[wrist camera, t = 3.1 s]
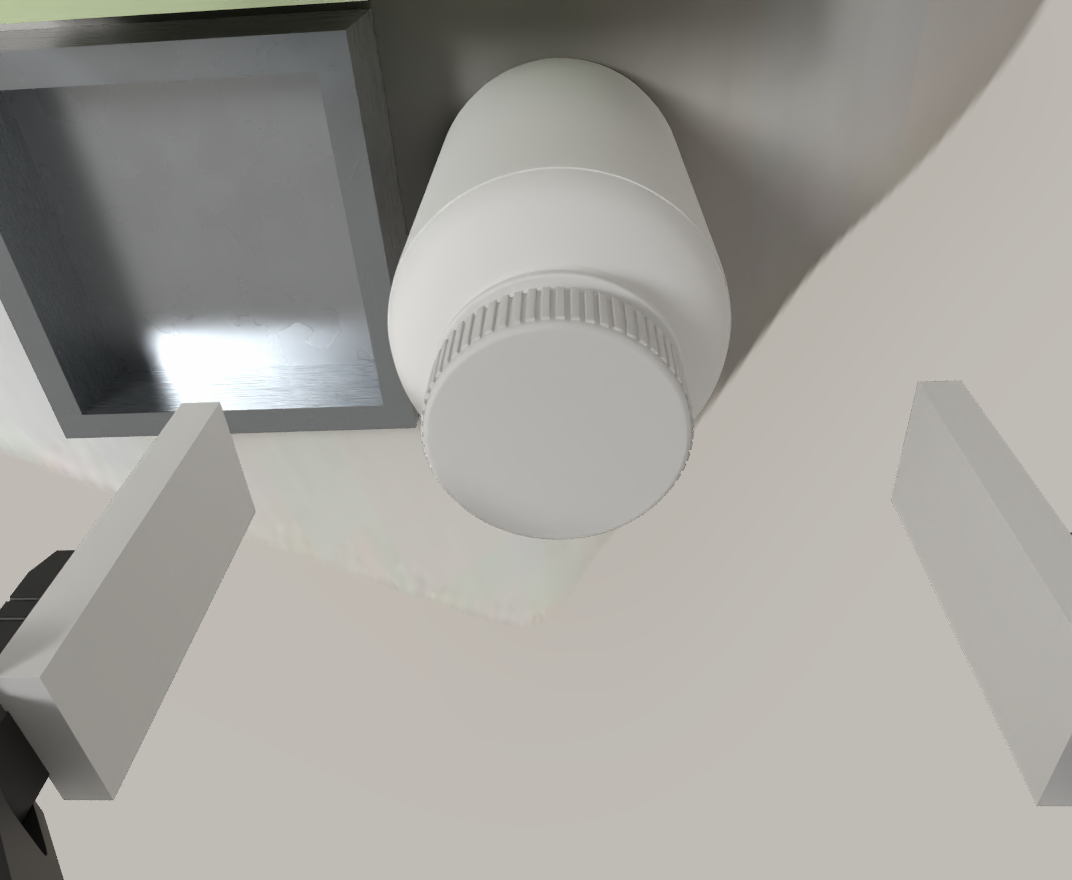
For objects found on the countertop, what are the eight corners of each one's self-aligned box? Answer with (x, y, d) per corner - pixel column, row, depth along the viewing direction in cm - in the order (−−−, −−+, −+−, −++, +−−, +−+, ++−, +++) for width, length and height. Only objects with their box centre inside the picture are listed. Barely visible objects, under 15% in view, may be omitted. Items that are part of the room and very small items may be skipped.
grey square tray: (109, 387, 34) (66, 438, 31) (-40, 33, 26) (-114, 58, 23) (429, 376, 33) (415, 427, 30) (371, 8, 25) (345, 30, 23)
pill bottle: (622, 317, 31) (654, 626, 19) (414, 242, 30) (303, 524, 18) (724, 109, 27) (850, 338, 15) (486, 9, 25) (404, 170, 13)
